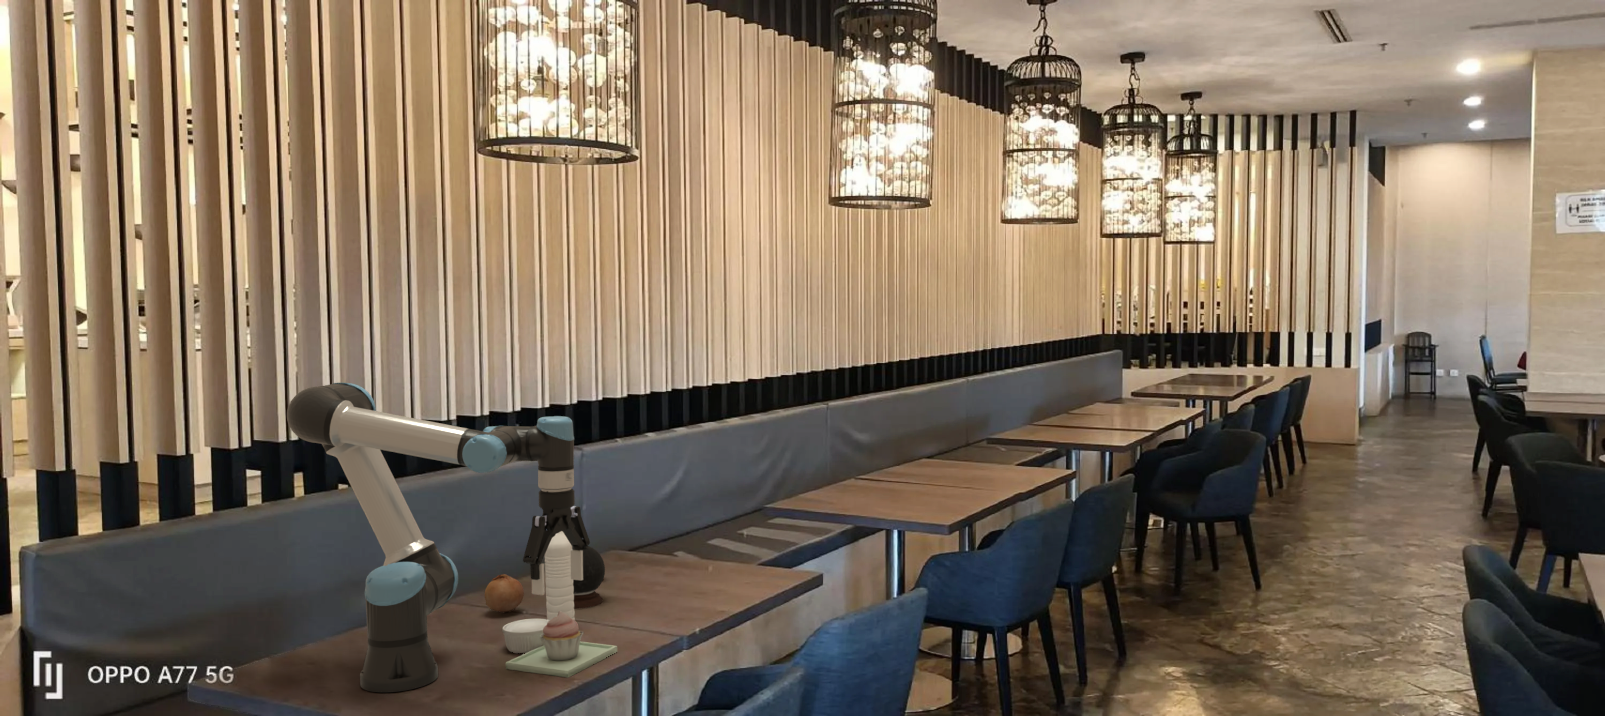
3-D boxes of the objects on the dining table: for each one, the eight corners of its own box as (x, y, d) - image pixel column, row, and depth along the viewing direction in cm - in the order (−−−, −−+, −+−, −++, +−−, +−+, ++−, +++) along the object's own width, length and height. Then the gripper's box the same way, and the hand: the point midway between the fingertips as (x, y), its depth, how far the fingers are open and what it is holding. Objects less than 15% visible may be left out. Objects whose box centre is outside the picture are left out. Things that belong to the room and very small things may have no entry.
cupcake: (549, 649, 251) (547, 605, 251) (590, 650, 250) (588, 605, 250) (533, 663, 242) (531, 616, 242) (575, 663, 241) (573, 617, 240)
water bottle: (558, 634, 266) (555, 528, 265) (541, 629, 270) (537, 525, 269) (588, 625, 273) (584, 521, 272) (570, 620, 277) (566, 519, 276)
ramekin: (499, 644, 259) (498, 622, 259) (549, 638, 264) (548, 615, 263) (507, 658, 249) (506, 634, 249) (558, 651, 253) (558, 627, 253)
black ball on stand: (602, 593, 302) (600, 538, 301) (609, 606, 290) (607, 547, 289) (551, 599, 298) (549, 542, 297) (557, 612, 286) (554, 552, 285)
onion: (488, 620, 279) (486, 580, 279) (482, 611, 288) (481, 572, 287) (527, 615, 283) (526, 575, 283) (520, 606, 292) (519, 567, 291)
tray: (567, 677, 235) (567, 670, 235) (505, 668, 241) (505, 662, 241) (617, 652, 251) (617, 645, 251) (558, 644, 258) (557, 638, 258)
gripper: (533, 499, 232) (535, 602, 233) (604, 481, 254) (606, 575, 255) (504, 496, 235) (506, 598, 236) (576, 479, 257) (578, 572, 258)
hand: (558, 586), depth 246 cm, fingers open, 13 cm apart
